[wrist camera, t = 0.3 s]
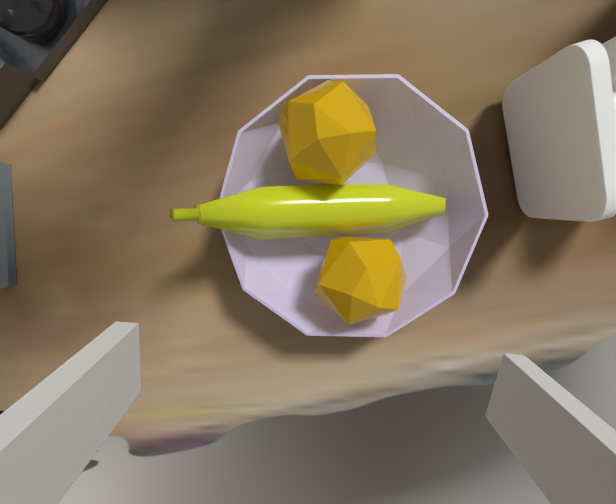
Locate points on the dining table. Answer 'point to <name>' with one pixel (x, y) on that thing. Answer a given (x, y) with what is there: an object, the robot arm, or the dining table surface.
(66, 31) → the bracket
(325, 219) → the fruit bowl
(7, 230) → the tray
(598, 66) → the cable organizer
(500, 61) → the dining table surface
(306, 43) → the dining table surface
